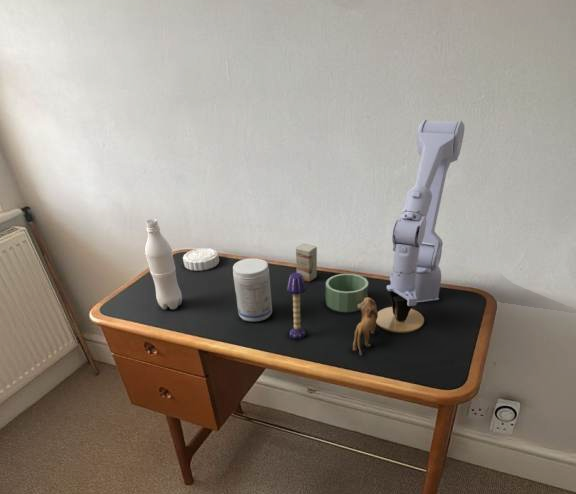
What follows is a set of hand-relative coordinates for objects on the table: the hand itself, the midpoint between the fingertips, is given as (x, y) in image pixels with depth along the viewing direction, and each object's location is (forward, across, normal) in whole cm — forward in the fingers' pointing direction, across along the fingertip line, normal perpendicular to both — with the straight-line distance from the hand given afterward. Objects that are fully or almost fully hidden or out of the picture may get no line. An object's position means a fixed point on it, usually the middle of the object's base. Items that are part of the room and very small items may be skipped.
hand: (399, 317), depth 122 cm
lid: (+1, 0, 0) cm, 1 cm away
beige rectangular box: (+2, -32, -19) cm, 37 cm away
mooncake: (+2, -52, -52) cm, 74 cm away
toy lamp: (+2, 0, -27) cm, 27 cm away
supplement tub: (+2, -13, -37) cm, 39 cm away
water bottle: (+2, -24, -61) cm, 66 cm away
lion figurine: (+2, +6, -11) cm, 13 cm away
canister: (+1, -13, -11) cm, 17 cm away
